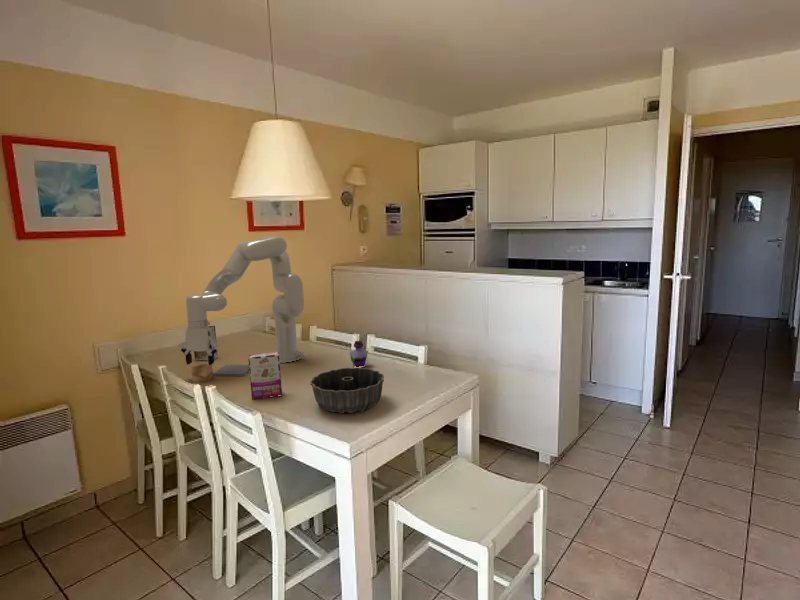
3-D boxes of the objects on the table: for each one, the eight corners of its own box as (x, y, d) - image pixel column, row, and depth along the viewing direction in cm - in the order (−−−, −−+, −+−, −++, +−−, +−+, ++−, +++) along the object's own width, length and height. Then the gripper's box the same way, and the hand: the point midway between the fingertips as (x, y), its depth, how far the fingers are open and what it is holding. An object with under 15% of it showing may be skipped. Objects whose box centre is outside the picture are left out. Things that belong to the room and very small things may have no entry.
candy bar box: (281, 392, 183) (279, 351, 181) (282, 396, 178) (279, 354, 176) (251, 395, 180) (248, 353, 178) (251, 399, 176) (248, 357, 173)
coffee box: (218, 357, 234) (215, 325, 231) (212, 360, 227) (209, 328, 225) (200, 357, 235) (198, 325, 232) (194, 360, 228) (191, 328, 226)
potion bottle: (346, 368, 212) (345, 342, 210) (355, 362, 220) (355, 337, 218) (362, 370, 208) (362, 344, 206) (372, 364, 216) (371, 339, 214)
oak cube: (213, 377, 203) (211, 363, 202) (206, 381, 197) (205, 368, 196) (199, 377, 204) (198, 363, 203) (192, 381, 198) (191, 368, 197)
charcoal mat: (255, 367, 216) (255, 365, 216) (243, 376, 203) (243, 374, 203) (226, 366, 217) (225, 364, 217) (212, 375, 205) (212, 373, 204)
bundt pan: (295, 409, 166) (294, 382, 164) (344, 387, 188) (343, 363, 186) (353, 426, 151) (352, 396, 150) (399, 399, 173) (398, 373, 171)
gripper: (221, 322, 199) (224, 361, 202) (182, 322, 201) (185, 361, 203) (213, 326, 192) (215, 366, 194) (172, 325, 193) (175, 365, 196)
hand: (200, 363), depth 199 cm, fingers open, 9 cm apart
